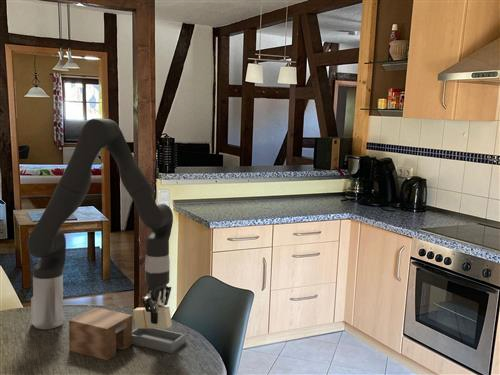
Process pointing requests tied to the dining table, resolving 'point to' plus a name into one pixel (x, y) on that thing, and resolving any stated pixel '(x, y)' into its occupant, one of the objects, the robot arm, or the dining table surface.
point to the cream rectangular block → (144, 318)
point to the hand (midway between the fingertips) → (156, 321)
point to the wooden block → (100, 333)
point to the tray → (158, 339)
